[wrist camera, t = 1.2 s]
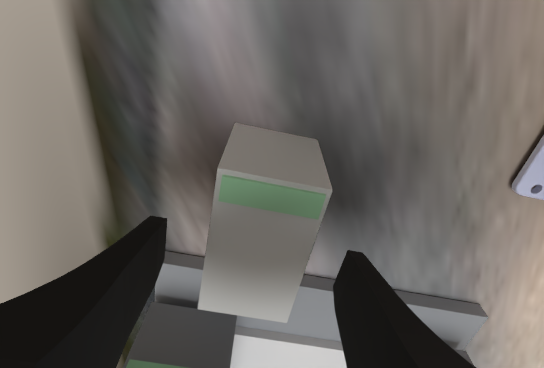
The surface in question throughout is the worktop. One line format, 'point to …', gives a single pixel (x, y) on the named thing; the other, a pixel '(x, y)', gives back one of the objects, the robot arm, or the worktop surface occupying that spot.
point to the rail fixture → (267, 326)
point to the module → (263, 222)
